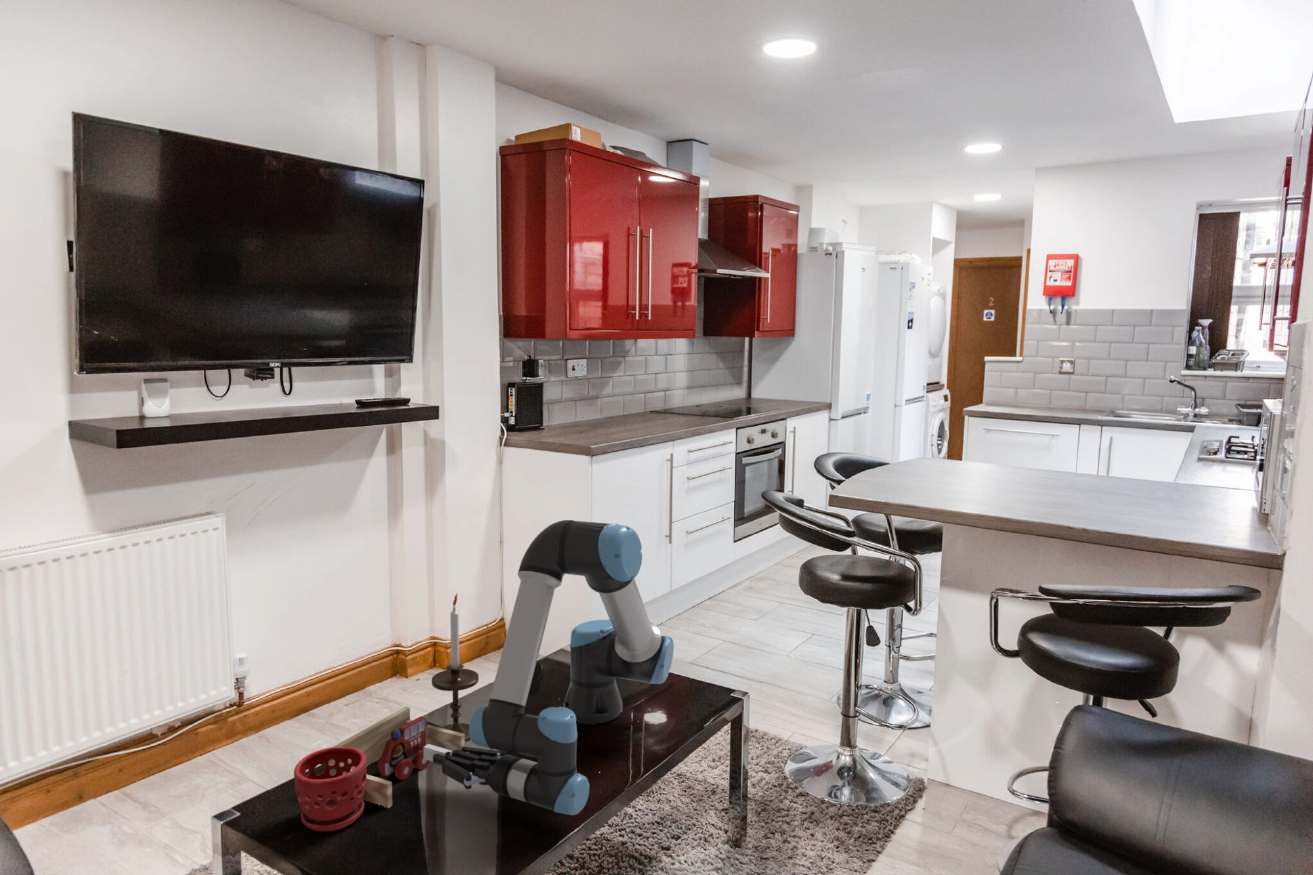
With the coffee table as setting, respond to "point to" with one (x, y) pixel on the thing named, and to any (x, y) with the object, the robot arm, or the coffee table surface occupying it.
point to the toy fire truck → (405, 750)
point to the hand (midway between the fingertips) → (426, 751)
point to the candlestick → (455, 677)
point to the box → (374, 744)
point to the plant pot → (331, 788)
